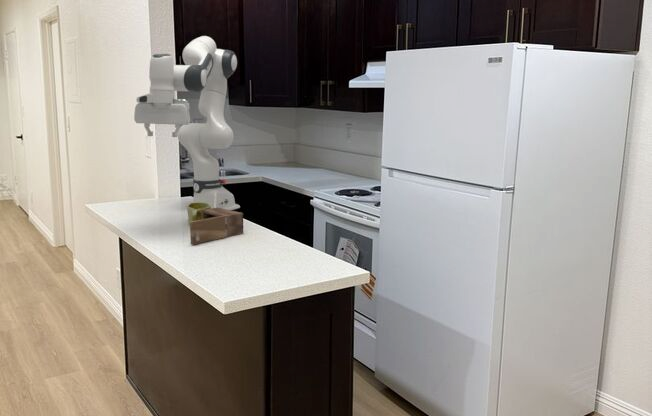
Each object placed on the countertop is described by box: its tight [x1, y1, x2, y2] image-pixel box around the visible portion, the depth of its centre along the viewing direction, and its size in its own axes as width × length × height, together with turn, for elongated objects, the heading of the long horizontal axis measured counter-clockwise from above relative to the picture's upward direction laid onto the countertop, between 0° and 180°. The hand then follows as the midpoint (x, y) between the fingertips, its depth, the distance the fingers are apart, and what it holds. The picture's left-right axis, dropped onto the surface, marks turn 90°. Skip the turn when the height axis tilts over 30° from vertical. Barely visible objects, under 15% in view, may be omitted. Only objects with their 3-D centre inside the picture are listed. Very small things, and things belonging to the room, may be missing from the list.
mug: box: [186, 202, 211, 226], centre depth 237 cm, size 12×10×10 cm
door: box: [189, 216, 227, 245], centre depth 212 cm, size 2×16×8 cm, turn 139°
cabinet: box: [202, 208, 244, 238], centre depth 226 cm, size 8×15×8 cm, turn 49°
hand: (162, 136), depth 218 cm, fingers open, 8 cm apart
